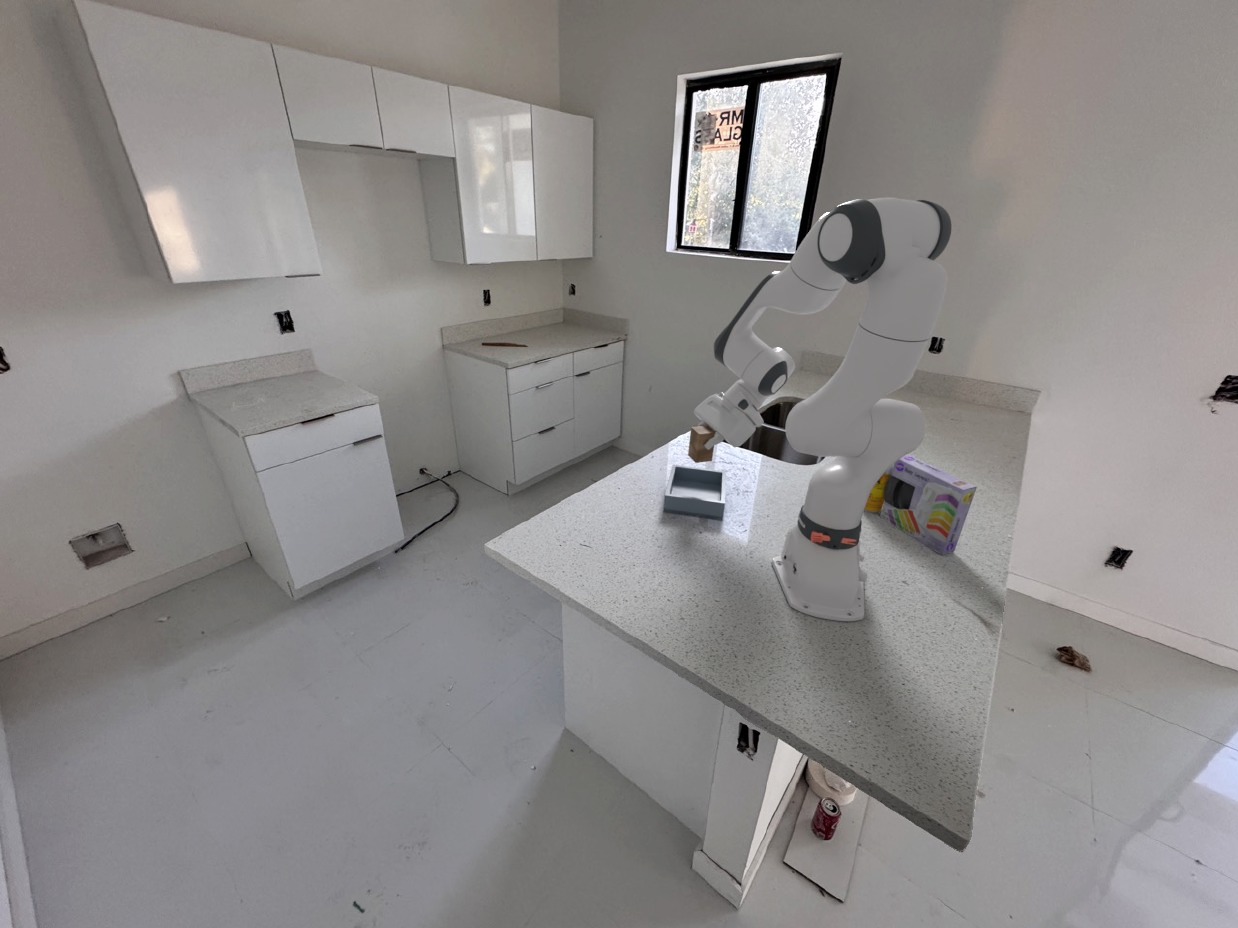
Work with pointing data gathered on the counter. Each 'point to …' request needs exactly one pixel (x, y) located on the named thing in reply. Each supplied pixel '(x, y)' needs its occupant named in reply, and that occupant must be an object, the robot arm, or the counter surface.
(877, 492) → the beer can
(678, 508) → the tote
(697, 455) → the walnut block
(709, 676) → the counter surface
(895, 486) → the cake pan box
